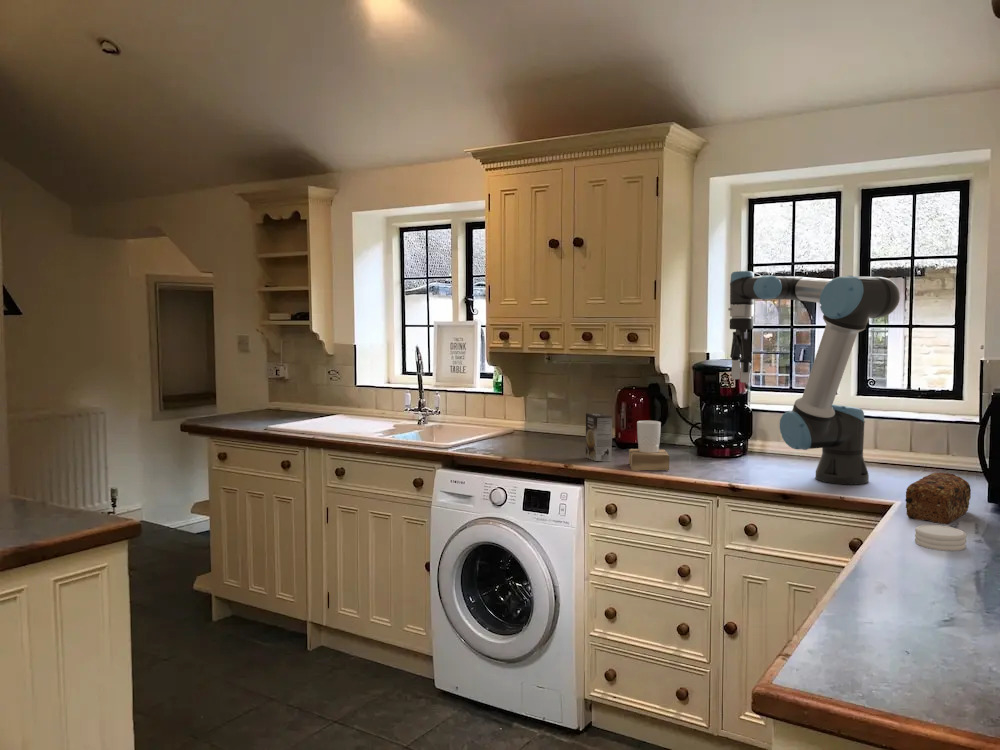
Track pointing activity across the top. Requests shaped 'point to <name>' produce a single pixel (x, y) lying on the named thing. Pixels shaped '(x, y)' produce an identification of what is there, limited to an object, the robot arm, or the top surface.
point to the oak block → (648, 460)
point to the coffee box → (598, 436)
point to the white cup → (648, 436)
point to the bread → (938, 498)
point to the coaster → (940, 538)
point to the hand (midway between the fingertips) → (740, 380)
